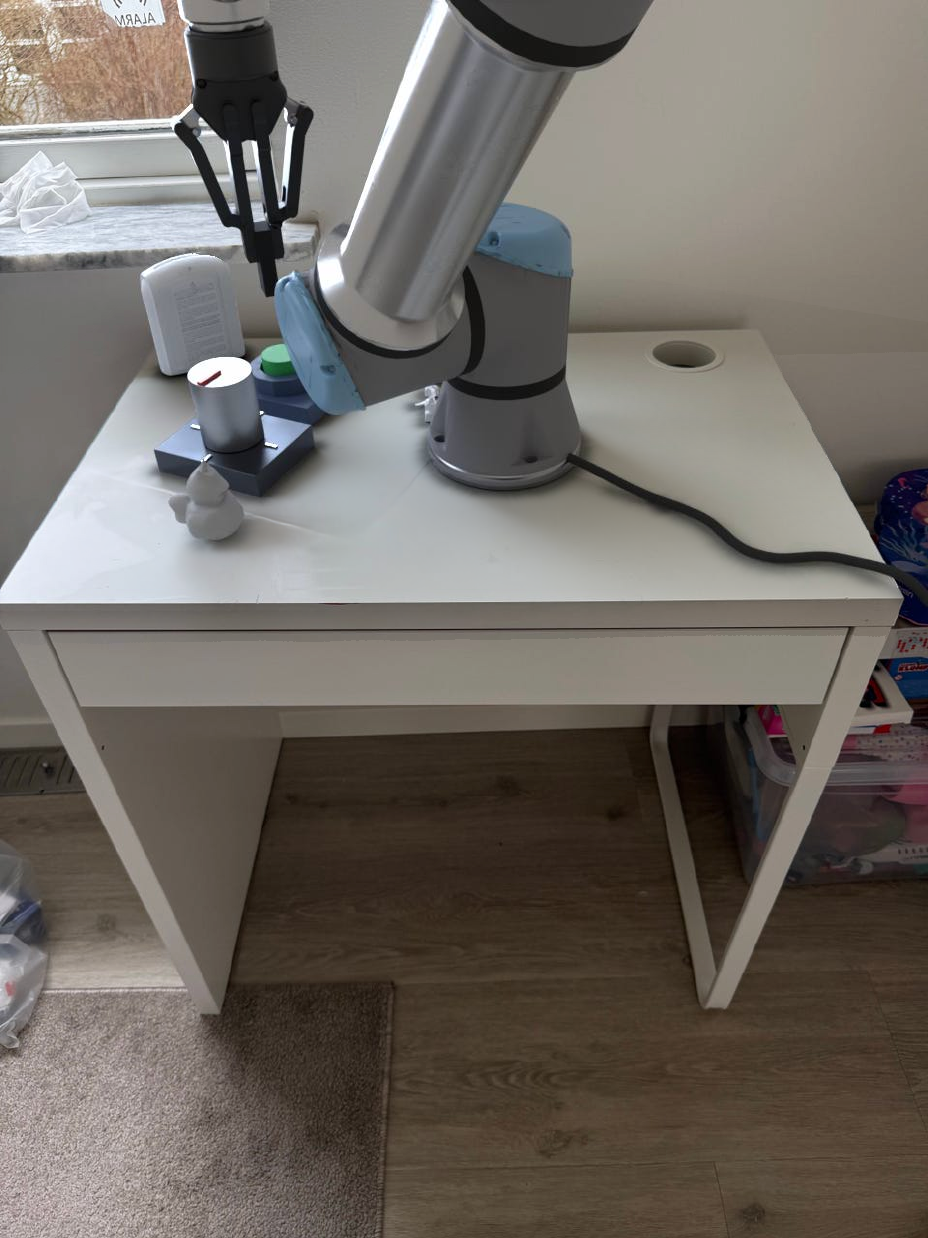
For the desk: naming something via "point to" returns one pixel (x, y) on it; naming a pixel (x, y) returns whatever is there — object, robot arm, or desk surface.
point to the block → (284, 396)
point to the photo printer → (191, 311)
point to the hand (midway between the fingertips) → (270, 290)
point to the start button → (277, 361)
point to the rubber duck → (207, 505)
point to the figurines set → (430, 401)
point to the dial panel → (239, 455)
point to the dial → (226, 404)
